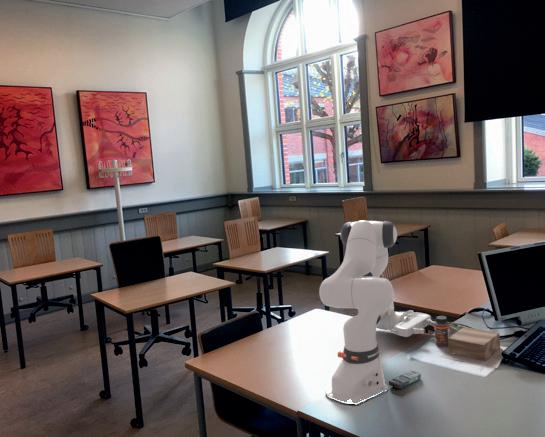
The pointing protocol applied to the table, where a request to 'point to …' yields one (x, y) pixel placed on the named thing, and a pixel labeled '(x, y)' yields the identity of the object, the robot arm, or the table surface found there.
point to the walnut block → (474, 343)
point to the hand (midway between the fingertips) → (430, 327)
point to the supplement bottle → (441, 331)
